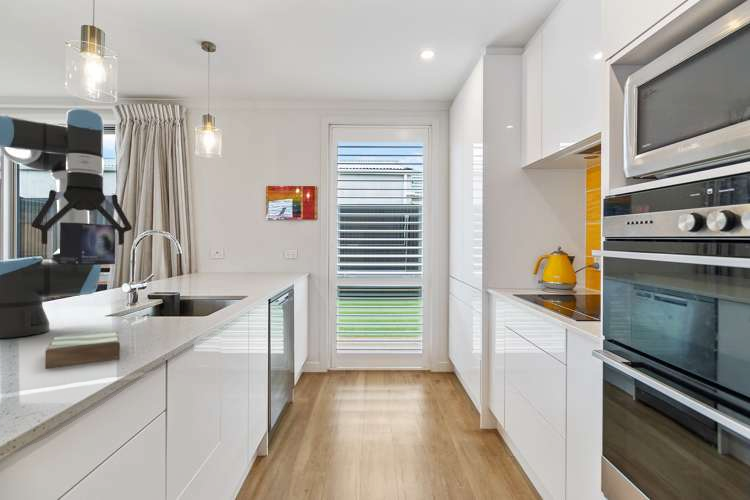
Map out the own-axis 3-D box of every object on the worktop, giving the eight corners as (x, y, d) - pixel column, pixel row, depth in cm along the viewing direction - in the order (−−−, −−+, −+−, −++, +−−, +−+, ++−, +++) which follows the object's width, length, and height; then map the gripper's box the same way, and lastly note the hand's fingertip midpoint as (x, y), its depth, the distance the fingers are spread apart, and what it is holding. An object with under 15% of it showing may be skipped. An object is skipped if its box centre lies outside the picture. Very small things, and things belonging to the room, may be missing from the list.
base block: (52, 352, 101) (52, 336, 101) (117, 345, 109) (117, 330, 109) (45, 368, 88) (45, 349, 88) (119, 358, 96) (119, 341, 96)
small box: (80, 266, 94) (80, 222, 94) (57, 265, 95) (57, 222, 95) (116, 264, 104) (117, 224, 104) (96, 263, 105) (96, 224, 105)
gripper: (16, 164, 89) (15, 258, 89) (143, 176, 103) (142, 257, 103) (21, 169, 95) (21, 257, 95) (141, 180, 109) (140, 257, 109)
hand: (84, 258), depth 99 cm, fingers open, 13 cm apart
